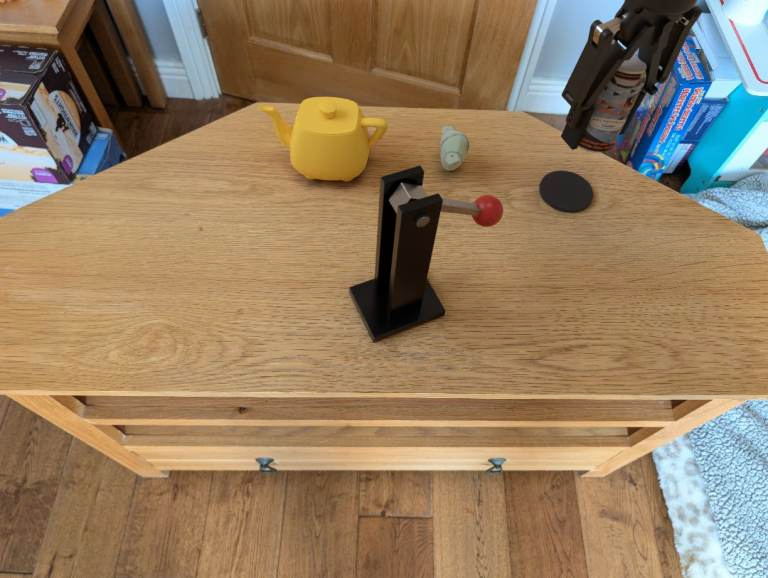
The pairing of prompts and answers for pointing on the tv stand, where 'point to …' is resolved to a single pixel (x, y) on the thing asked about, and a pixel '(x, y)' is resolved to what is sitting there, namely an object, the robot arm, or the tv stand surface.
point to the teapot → (328, 137)
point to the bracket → (401, 262)
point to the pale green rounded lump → (453, 147)
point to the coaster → (566, 191)
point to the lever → (454, 204)
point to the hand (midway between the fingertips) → (592, 135)
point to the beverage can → (614, 106)
